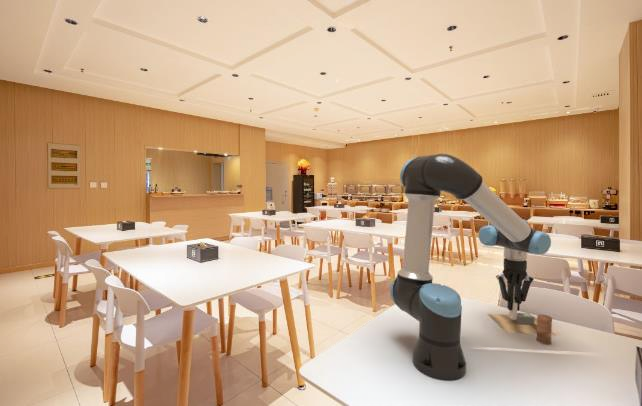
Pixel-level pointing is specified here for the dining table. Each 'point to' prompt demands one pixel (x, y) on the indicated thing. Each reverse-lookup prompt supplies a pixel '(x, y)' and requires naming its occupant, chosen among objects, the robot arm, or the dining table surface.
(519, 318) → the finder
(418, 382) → the dining table surface
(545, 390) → the dining table surface
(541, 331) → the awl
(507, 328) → the board
